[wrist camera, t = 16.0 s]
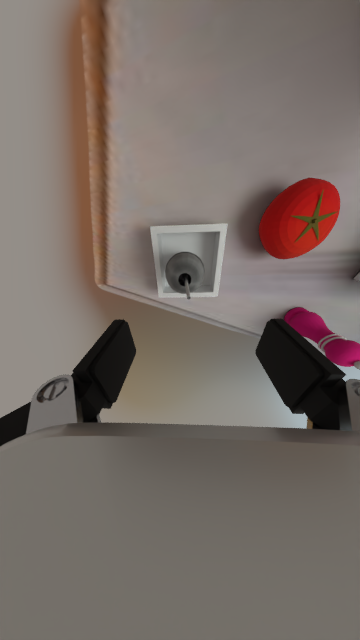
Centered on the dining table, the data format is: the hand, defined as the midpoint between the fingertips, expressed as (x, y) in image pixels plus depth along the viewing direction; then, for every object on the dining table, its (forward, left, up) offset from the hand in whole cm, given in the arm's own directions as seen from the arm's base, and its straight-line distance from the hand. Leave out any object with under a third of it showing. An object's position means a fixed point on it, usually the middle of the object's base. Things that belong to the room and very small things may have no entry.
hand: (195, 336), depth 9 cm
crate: (0, 0, -30) cm, 30 cm away
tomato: (-7, +20, -31) cm, 37 cm away
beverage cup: (0, -1, -29) cm, 29 cm away
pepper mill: (+17, +34, -30) cm, 49 cm away
